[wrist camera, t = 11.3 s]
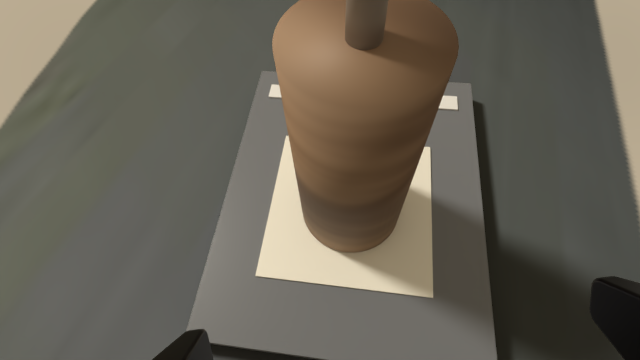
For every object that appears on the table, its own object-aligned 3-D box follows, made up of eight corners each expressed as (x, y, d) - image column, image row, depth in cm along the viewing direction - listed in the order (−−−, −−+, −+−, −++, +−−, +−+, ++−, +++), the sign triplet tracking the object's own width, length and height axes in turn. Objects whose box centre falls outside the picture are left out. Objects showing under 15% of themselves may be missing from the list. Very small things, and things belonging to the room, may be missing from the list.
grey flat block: (488, 384, 15) (500, 384, 14) (193, 341, 17) (183, 338, 15) (464, 97, 23) (471, 82, 22) (265, 84, 24) (261, 69, 23)
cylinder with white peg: (367, 272, 16) (438, 12, 5) (283, 219, 18) (195, -74, 7) (415, 193, 18) (543, -120, 7) (335, 151, 20) (336, -163, 9)
